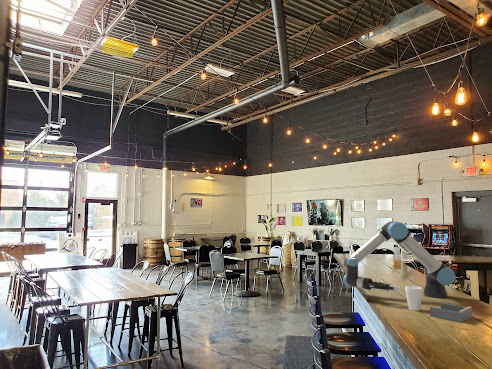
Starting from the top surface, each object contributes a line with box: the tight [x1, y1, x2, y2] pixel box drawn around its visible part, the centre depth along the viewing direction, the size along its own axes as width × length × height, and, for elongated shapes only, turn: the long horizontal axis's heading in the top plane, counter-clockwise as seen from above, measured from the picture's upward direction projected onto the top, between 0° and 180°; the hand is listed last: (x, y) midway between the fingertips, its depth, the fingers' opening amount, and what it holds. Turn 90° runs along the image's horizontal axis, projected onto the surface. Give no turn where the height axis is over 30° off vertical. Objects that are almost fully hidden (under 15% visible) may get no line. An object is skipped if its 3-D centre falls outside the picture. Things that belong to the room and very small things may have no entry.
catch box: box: [429, 302, 473, 323], centre depth 203 cm, size 16×16×6 cm
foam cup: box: [404, 285, 423, 312], centre depth 218 cm, size 10×9×13 cm
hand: (399, 289), depth 225 cm, fingers closed
